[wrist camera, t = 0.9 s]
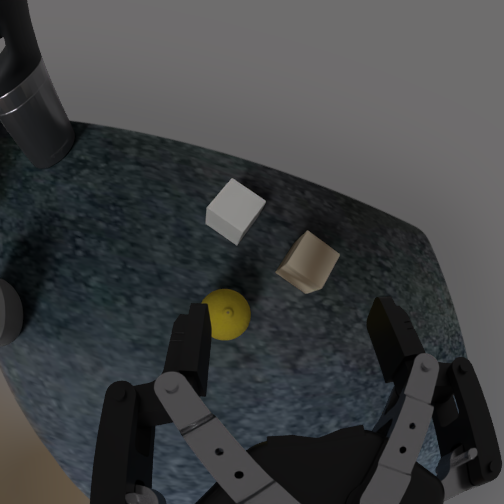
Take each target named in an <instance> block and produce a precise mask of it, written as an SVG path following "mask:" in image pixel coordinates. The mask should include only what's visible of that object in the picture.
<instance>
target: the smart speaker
mask: <svg viewBox="0 0 504 504" xmlns="http://www.w3.org/2000/svg"><path fill="white" fill-rule="evenodd" d="M22 324H23V307H22V303H21V300H20V297H19V295H18V294H17V292H16V290H15V289H14V288H13V287H12V286H11V285H10V284H9V283H8V282H6V281H5V280H3V279H1V278H0V346H5V345H8V344H10V343H11V342H13V341H14V340H15V339H16V338H17V336H18V335H19V333H20V331H21V328H22Z"/></svg>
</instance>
